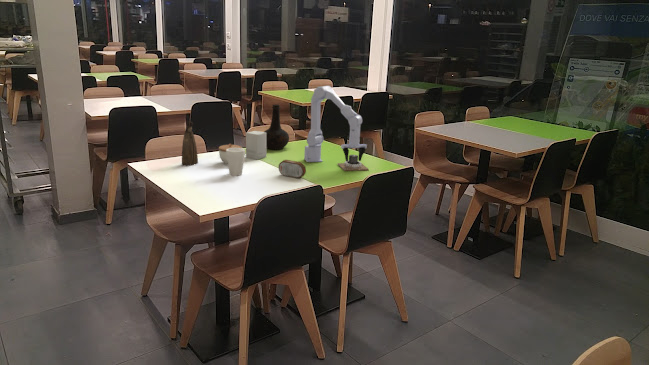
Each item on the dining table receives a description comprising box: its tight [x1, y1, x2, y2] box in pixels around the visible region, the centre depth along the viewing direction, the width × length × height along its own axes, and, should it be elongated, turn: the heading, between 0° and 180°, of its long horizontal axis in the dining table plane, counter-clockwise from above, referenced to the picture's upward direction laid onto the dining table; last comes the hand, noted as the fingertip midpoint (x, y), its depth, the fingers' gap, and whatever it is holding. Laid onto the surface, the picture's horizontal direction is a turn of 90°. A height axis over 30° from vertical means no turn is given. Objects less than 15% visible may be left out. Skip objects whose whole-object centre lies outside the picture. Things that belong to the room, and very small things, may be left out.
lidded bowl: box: [218, 143, 243, 165], centre depth 270 cm, size 13×13×11 cm
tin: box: [278, 159, 307, 179], centre depth 249 cm, size 15×3×8 cm, turn 65°
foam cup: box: [226, 147, 246, 177], centre depth 249 cm, size 10×9×13 cm
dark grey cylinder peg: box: [348, 154, 359, 164], centre depth 272 cm, size 5×5×6 cm
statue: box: [181, 119, 199, 166], centre depth 263 cm, size 9×8×25 cm
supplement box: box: [245, 130, 267, 160], centre depth 285 cm, size 9×9×15 cm
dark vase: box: [263, 104, 290, 150], centre depth 308 cm, size 18×18×28 cm
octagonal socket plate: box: [337, 159, 370, 172], centre depth 273 cm, size 14×14×3 cm
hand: (353, 160), depth 272 cm, fingers open, 7 cm apart
